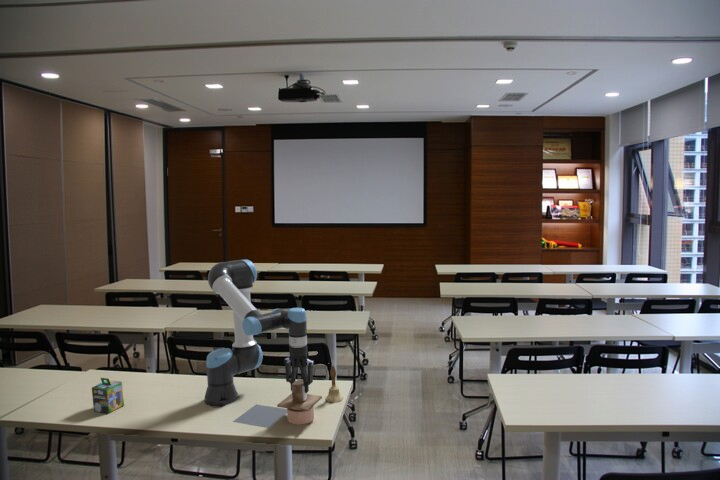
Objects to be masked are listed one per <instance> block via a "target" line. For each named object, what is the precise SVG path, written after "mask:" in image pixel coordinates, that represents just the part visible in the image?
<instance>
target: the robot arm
mask: <svg viewBox="0 0 720 480" xmlns="http://www.w3.org/2000/svg"><path fill="white" fill-rule="evenodd" d="M257 278H258V271H257V268H256V266H255V265H254V263H253V261H251V260H249V259H238V260H237V259H235V260H229V261H222V262H218V263H216V264H214V265H213V266H212V267H211V268H210V270H209V272H208V275H207V282H208V286H209V287H210V289H211V290H212V291H213V292H214V293H215V294H217V295H218V294H219V296H220V297H221V298H222V299H223V300H224V301H225V302H226V304H227V305H228V306H229V307H230V308H231V309H232V313H233V314H232V315H233V326H234V327H233V328H234V342H233V343H232V345H231V346H232V349H231V348H229V347H223V348H217V349H215V350H213V351H211V352H209V353H208V354H207V356H206V363H205V364H206V366H205V367H206V378H207V387H206V390H205V391H206V392H205V394H204V404H205V405H206V406H209V407H215V408H217V407H225V406H227V405H229V404H232V403H234V402H235V401H237V400H238V398H239V393H238V391H237V388H236V386H235V383H234V376H236V375H240V374H242V373H246V372H249V371H253V370H255V369H258V368H259V367H260V366H261V364H262V362H263V358H264V357H263V355H264V354H263V350H262V348H261V345H259V344H258V343H257V340H255V339H254V336H255V335H260V334H263V333H267V332H271V331H272V332H273V331H276V330H279V329H285V330H288V345H289V346H288V347H289V348H288V351H289V356H288V357H286V358H284V359H283V364H284V366H285V367H284V368H285V370H284V371H285V380H286V381H285V382H287V383H289V385H290V391H291V392H292V384H293V383H294V382H295V381H296V378H297V373H298V368H299V370H300V373H301V377H302V380H303V383H304V385H303V386H302V393H303V401H305V400H306V399H307V394H308V393H309V390H310V389H309V388H310V387H309V385H311V384H312V383H313V381H314V377H313V376H314V363H315V360H311V359H309V357H308V335H307V334H308V333H307V331H308V330H307V311H306V310H305V308H303V307H292V308H289V309H288V310H287V309H284V308H275V309H273V310H272V311H270V312H267V313H266V312H265V313H261V312H260V311H259V310H258V309H257V307H255V306H254V305H253V303H252V302H251V299H252V298H251V290H252V289H253V285H254V284H253V283H255V282H256V281H257ZM306 364H307V365H306Z"/></svg>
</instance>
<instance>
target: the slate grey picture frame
mask: <svg viewBox="0 0 720 480" xmlns="http://www.w3.org/2000/svg"><path fill="white" fill-rule="evenodd" d="M284 416H287V408H282V407H277V406H269V405H262V404H254V405H253V406H252V407H250V408H249V409H247V410H246V411H244V413H243V414H241V415H239V416H238V417H236V418H235V419H234V420H233V421H232V423H238V424H243V425H249V426H256V427H261V428H267V429H270V428H272V427H273V425H275V424H276V423H277V422H279V420H281V419H282V418H284Z"/></svg>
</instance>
